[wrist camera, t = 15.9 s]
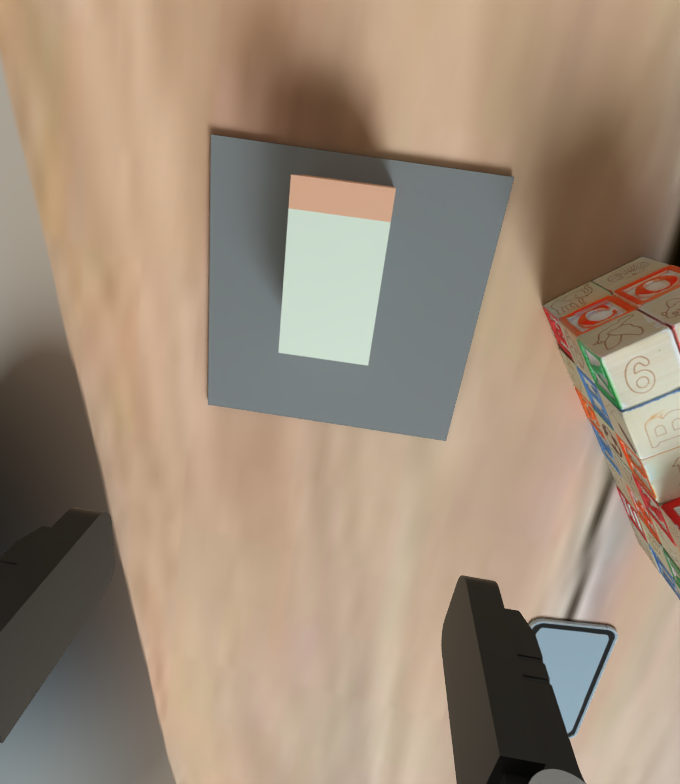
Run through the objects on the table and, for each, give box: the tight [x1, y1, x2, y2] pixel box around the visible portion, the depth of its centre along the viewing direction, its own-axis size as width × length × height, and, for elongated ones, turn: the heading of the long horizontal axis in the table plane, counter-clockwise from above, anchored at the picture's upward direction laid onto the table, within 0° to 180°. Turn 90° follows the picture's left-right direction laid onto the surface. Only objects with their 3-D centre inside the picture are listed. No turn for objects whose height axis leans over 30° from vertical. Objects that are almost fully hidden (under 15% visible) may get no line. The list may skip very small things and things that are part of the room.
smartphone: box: [529, 618, 618, 738], centre depth 43 cm, size 7×1×15 cm
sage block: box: [278, 175, 396, 366], centre depth 26 cm, size 5×5×9 cm
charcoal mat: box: [208, 135, 514, 441], centre depth 30 cm, size 17×17×1 cm
